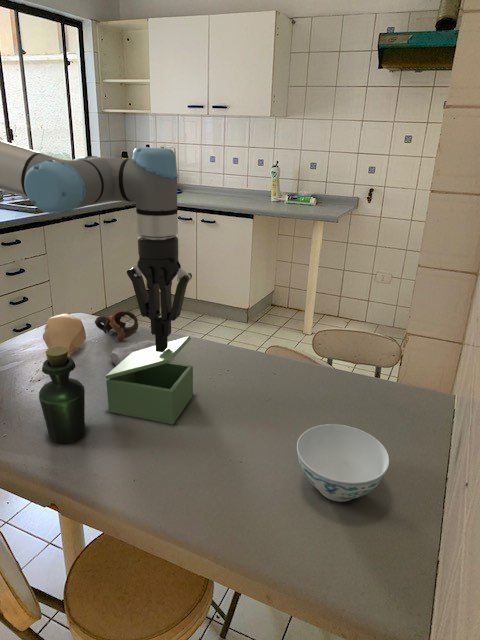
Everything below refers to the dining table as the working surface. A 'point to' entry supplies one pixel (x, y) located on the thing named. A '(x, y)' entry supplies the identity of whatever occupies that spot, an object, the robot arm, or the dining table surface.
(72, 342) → the squash
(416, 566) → the dining table surface
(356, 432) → the chinaware
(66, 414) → the potion bottle
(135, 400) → the chest
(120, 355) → the stone block
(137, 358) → the chest lid
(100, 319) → the brown curved loop piece
